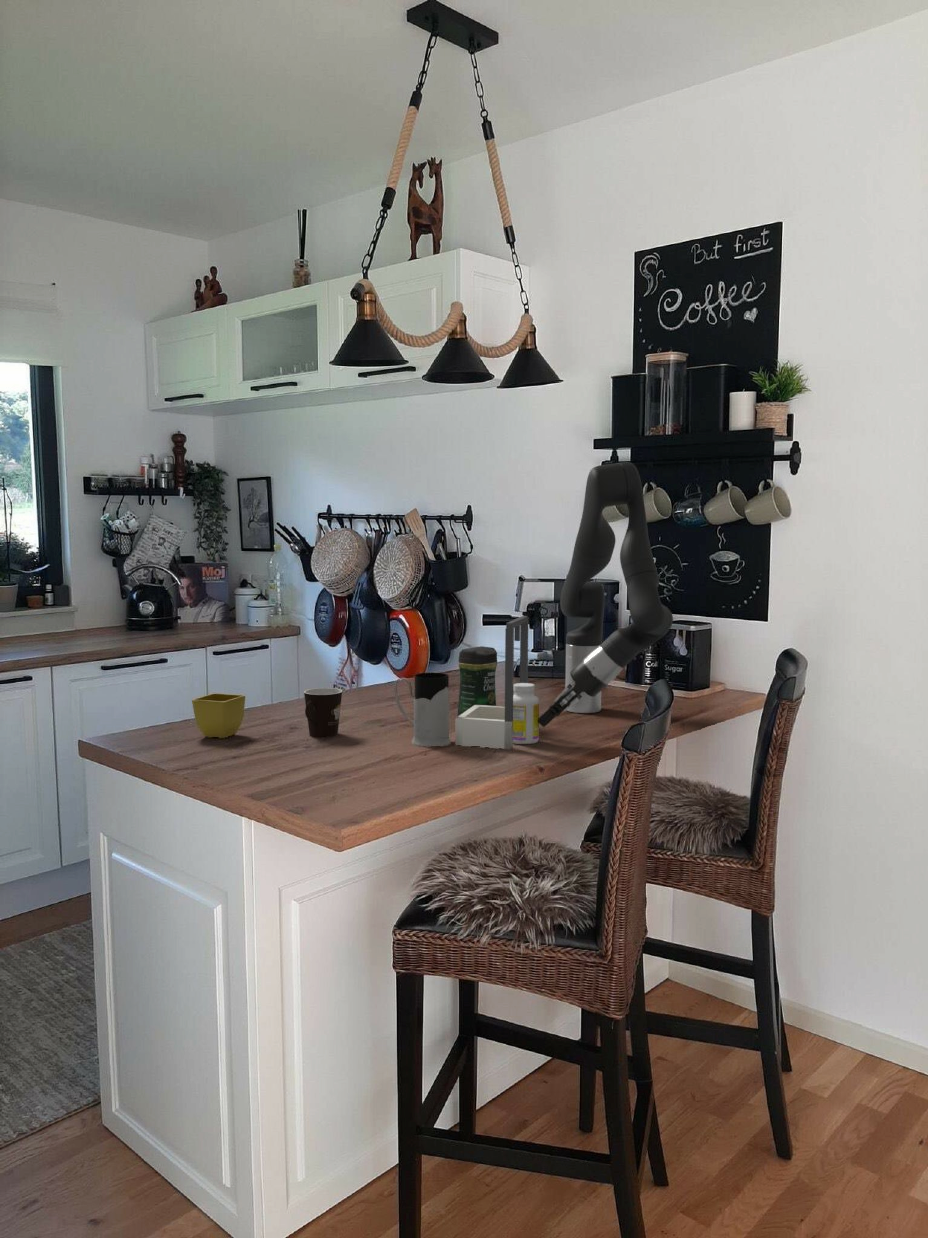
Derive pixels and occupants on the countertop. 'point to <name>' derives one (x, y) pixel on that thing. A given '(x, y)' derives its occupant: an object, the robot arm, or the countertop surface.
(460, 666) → the coffee jar
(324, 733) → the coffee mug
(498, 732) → the bay
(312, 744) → the countertop surface
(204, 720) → the flower pot
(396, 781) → the countertop surface
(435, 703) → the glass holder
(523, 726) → the supplement bottle
